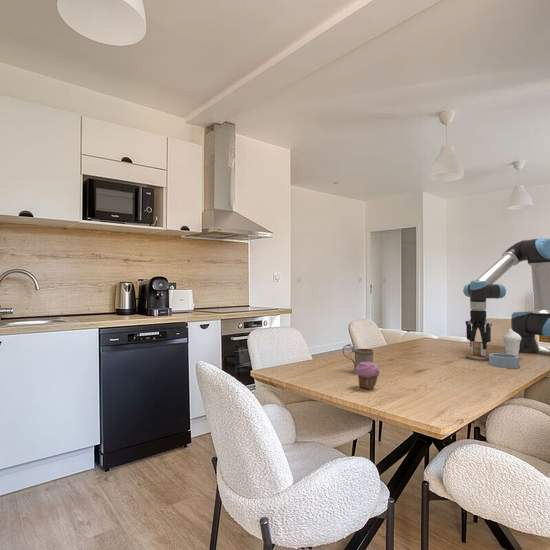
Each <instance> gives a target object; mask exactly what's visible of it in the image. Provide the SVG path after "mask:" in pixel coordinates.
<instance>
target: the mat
mask: <svg viewBox="0 0 550 550" xmlns="http://www.w3.org/2000/svg"><path fill="white" fill-rule="evenodd" d="M458 358H459V359H465V360H469V361H473V362H479V363H487V362H488V363H489V361H477V360H471V359H467V358H466V355H465V356H458Z"/></svg>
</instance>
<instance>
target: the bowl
mask: <svg viewBox="0 0 550 550" xmlns="http://www.w3.org/2000/svg"><path fill="white" fill-rule="evenodd" d="M488 355H489V362H488V364H489V366H492V367H496V368H504V369H508V370H516V369H520V356H519V355H518V356H517V355H512V354H506V353H503V352H502V353H501V352H496V353H495V352H492V353H489V354H488Z"/></svg>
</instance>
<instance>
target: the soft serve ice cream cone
mask: <svg viewBox="0 0 550 550" xmlns="http://www.w3.org/2000/svg"><path fill="white" fill-rule="evenodd" d="M502 340H503V342H504V349H505V354H512V355H517V356H519V353H520V352H519V350H520V349H519V347H520V341H521V336H520V335H519V334H517V333H516V332H514V331H513V330H512V329H511V328H509V329H508V330H507V331H506V333H504V334H503V336H502Z"/></svg>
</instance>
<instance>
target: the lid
mask: <svg viewBox="0 0 550 550" xmlns="http://www.w3.org/2000/svg"><path fill="white" fill-rule="evenodd" d="M481 342H482V341H476V342H473V346H474V354H472V353H467V354H465V356H466V358H467V359H466V360H468V359H471V360H470V361H473V360H477V361H476V362H478V361H489V354H486V355H485V356H481Z"/></svg>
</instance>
